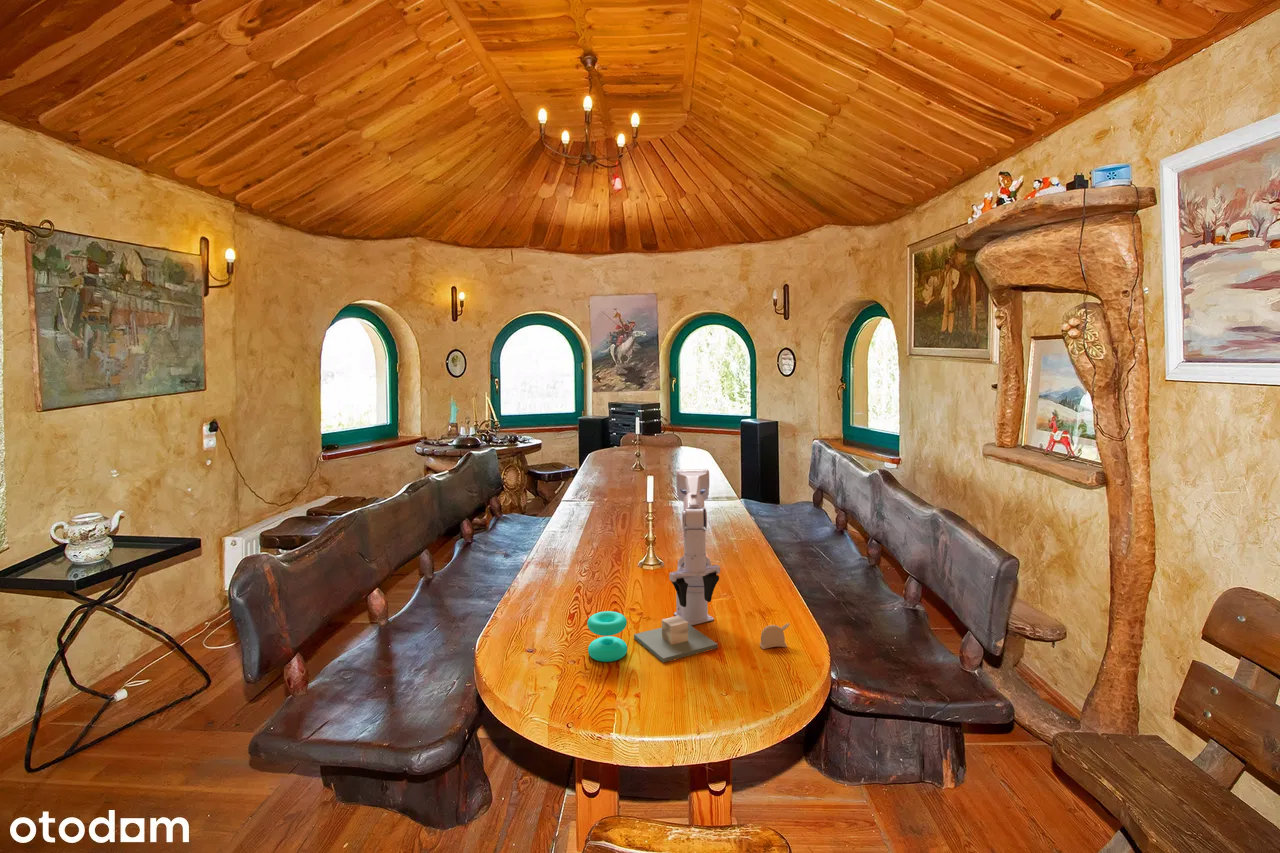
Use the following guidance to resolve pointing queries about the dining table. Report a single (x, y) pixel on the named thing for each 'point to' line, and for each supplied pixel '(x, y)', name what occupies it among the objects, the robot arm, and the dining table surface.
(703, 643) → the board
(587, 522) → the dining table surface
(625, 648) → the donuts
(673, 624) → the cream cube
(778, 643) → the decorative ornament
